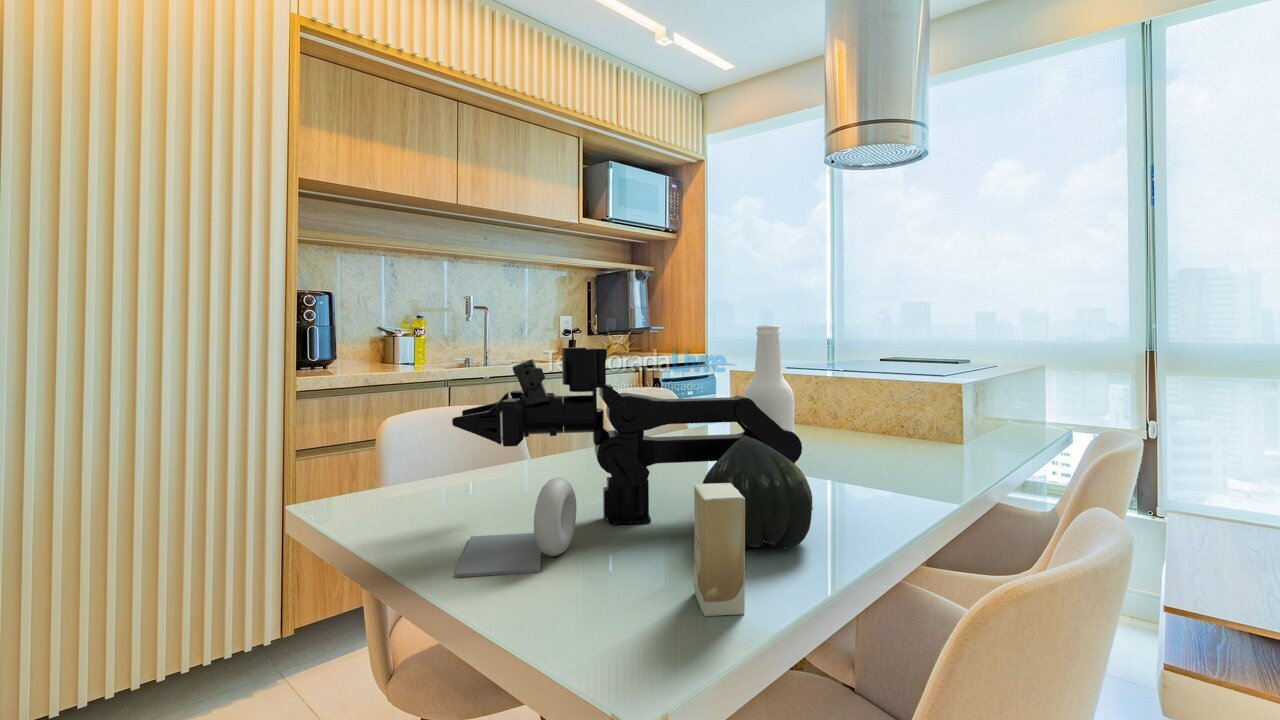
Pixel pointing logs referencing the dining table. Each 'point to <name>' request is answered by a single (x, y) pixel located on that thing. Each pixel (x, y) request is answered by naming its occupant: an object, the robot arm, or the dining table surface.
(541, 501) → the donut
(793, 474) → the squash
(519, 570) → the mat
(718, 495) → the skincare box
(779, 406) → the alcohol
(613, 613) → the dining table surface
